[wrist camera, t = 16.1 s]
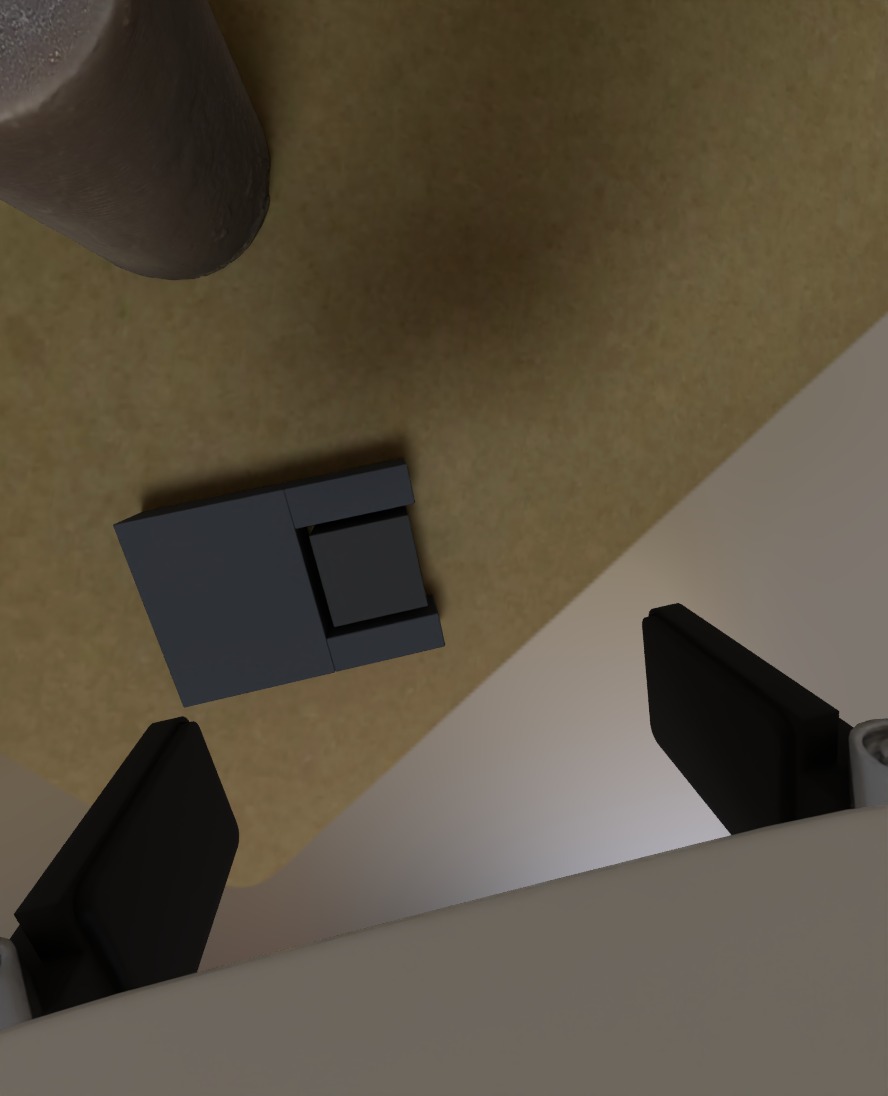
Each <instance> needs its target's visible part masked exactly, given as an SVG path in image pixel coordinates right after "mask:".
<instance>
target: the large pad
mask: <svg viewBox="0 0 888 1096" xmlns="http://www.w3.org/2000/svg"><path fill="white" fill-rule="evenodd" d="M414 503H415V500H414V495H413V491H412V486H411V481H410V477H409V472H408V467H407V464H406V462H405V460H404V458H401V459H396V460H392V461H387V462H382V463H377V464H372V465H367V466H363V467H358V468H353V469H348V470H343V471H339V472H334V473H329V474H324V475H319V476H314V477H310V478H305V479H300V480H295V481H290V482H285V483H280V484H276V485H271V486H266V487H261V488H256V489H251V490H247V491H242V492H237V493H232V494H227V495H223V496H218V497H213V498H208V499H203V500H198V501H194V502H189V503H184V504H179V505H174V506H169V507H165V508H160V509H155V510H150V511H145V512H141V513H139V514H137V515H134V516H132V517H130V518H127V519H125V520H123V521H121V522H118V523H116V524H114V525H113V526H114V529H115V532H116V534H117V537H118V539H119V542H120V544H121V547H122V550H123V552H124V555H125V557H126V560H127V562H128V565H129V568H130V570H131V573H132V575H133V578H134V580H135V583H136V586H137V588H138V591H139V593H140V596H141V598H142V601H143V604H144V606H145V609H146V611H147V614H148V617H149V619H150V622H151V624H152V627H153V629H154V632H155V635H156V637H157V640H158V642H159V645H160V647H161V650H162V653H163V655H164V658H165V660H166V663H167V665H168V668H169V671H170V673H171V676H172V678H173V681H174V684H175V686H176V689H177V691H178V694H179V696H180V699H181V702H182V704H183V707H188V706H193V705H197V704H201V703H206V702H210V701H214V700H218V699H223V698H227V697H231V696H236V695H240V694H244V693H248V692H253V691H257V690H261V689H265V688H270V687H274V686H278V685H283V684H287V683H291V682H295V681H300V680H304V679H308V678H312V677H317V676H321V675H325V674H330V673H334V672H335V671H341V670H345V669H350V668H354V667H358V666H362V665H367V664H371V663H375V662H380V661H384V660H388V659H392V658H397V657H401V656H405V655H410V654H414V653H418V652H422V651H427V650H431V649H435V648H439V647H444V646H445V642H444V638H443V633H442V628H441V623H440V619H439V614H438V611H437V607H436V604H435V600H434V597H433V595H432V594H431V595H426V598H427V603H428V606H425V607H420V608H416V609H411V610H407V611H403V612H398V613H394V614H389V615H385V616H381V617H376V618H372V619H368V620H363V621H359V622H354V623H350V624H346V625H341V626H337V627H334V625H333V621H332V618H331V615H330V612H329V608H328V605H327V601H326V597H325V594H324V590H323V586H322V583H321V579H320V576H319V572H318V568H317V565H316V561H315V558H314V554H313V550H312V547H311V543H310V540H309V536H308V532H307V529H306V526H311V525H316V524H320V523H325V522H330V521H334V520H339V519H344V518H348V517H353V516H358V515H363V514H367V513H372V512H377V511H381V510H386V509H391V508H395V507H400V506H405V505H409V504H414Z"/></svg>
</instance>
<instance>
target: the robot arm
mask: <svg viewBox="0 0 888 1096" xmlns="http://www.w3.org/2000/svg"><path fill="white" fill-rule="evenodd" d="M642 630H643V640H644V641H643V642H644V654H645V665H646V678H647V689H648V702H649V713H650V725H651V729H652V733H653V735H654V738H655V740H656V741H657V743H658V744H659V746H660V747H661V748H662V749H663V751H664V752H665V753H666V754H667V756H668V757H669V758H670V759H671V760H672V762H673V763H674V764H675V766H676V767H677V768H678V769H679V770H680V772H681V773H682V774H683V775H684V777H685V778H686V779H687V780H688V782H689V783H690V784H691V785H692V787H693V788H694V789H695V790H696V792H697V793H698V794H699V795H700V796H701V798H702V799H703V800H704V802H705V803H706V804H707V805H708V807H709V808H710V809H711V810H712V811H713V813H714V814H715V815H716V816H717V818H718V819H719V820H720V821H721V823H722V824H723V825H724V826H725V828H726V829H727V830H728V831H729V833H730V834H731V836H727V837H723V838H719V839H714V840H711V841H706V842H702V843H698V844H694V845H690V846H686V847H682V848H678V849H674V850H671V851H666V852H662V853H658V854H654V855H650V856H646V857H642V858H638V859H634V860H630V861H626V862H622V863H619V864H615V865H610V866H606V867H603V868H598V869H594V870H590V871H586V872H582V873H578V874H574V875H571V876H566V877H563V878H558V879H555V880H550V881H547V882H543V883H539V884H535V885H531V886H527V887H523V888H520V889H515V890H511V891H507V892H503V893H500V894H496V895H492V896H488V897H484V898H480V899H476V900H472V901H468V902H464V903H461V904H457V905H453V906H449V907H445V908H442V909H437V910H433V911H430V912H426V913H422V914H418V915H414V916H410V917H406V918H403V919H399V920H395V921H391V922H387V923H383V924H379V925H375V926H372V927H368V928H364V929H360V930H356V931H353V932H348V933H345V934H341V935H337V936H333V937H330V938H326V939H322V940H318V941H314V942H311V943H307V944H303V945H299V946H296V947H292V948H288V949H284V950H280V951H277V952H273V953H269V954H265V955H261V956H258V957H254V958H250V959H246V960H243V961H239V962H235V963H231V964H227V965H223V966H220V967H216V968H212V969H208V970H205V971H201V972H197V970H198V967H199V964H200V961H201V958H202V955H203V952H204V949H205V945H206V943H207V939H208V937H209V933H210V930H211V927H212V924H213V921H214V918H215V915H216V912H217V909H218V906H219V903H220V900H221V896H222V893H223V891H224V888H225V884H226V881H227V878H228V875H229V872H230V869H231V866H232V863H233V860H234V857H235V854H236V851H237V848H238V843H239V829H238V825H237V822H236V820H235V817H234V815H233V812H232V809H231V807H230V804H229V802H228V799H227V797H226V794H225V791H224V789H223V786H222V784H221V781H220V779H219V776H218V773H217V771H216V768H215V766H214V763H213V761H212V758H211V755H210V753H209V750H208V748H207V745H206V743H205V740H204V737H203V735H202V732H201V730H200V727H199V725H198V724H197V723H196V722H194V721H193V722H189V720H188V719H187V718H186V717H183V716H182V717H178V718H173V719H169V720H165V721H160V722H156V723H152V724H151V725H150V726H149V727H148V729H147V730H146V731H145V733H144V734H143V736H142V737H141V738H140V740H139V741H138V743H137V744H136V745H135V747H134V748H133V750H132V751H131V752H130V754H129V755H128V756H127V758H126V759H125V761H124V762H123V763H122V765H121V766H120V768H119V769H118V770H117V772H116V773H115V775H114V776H113V777H112V779H111V780H110V781H109V783H108V784H107V786H106V787H105V788H104V790H103V791H102V793H101V794H100V795H99V797H98V798H97V800H96V801H95V802H94V804H93V805H92V806H91V808H90V809H89V811H88V812H87V813H86V815H85V816H84V818H83V819H82V820H81V822H80V823H79V824H78V826H77V828H76V829H75V830H74V831H73V833H72V834H71V836H70V837H69V838H68V840H67V841H66V843H65V844H64V845H63V847H62V848H61V850H60V851H59V852H58V854H57V855H56V857H55V858H54V859H53V861H52V862H51V863H50V865H49V866H48V868H47V869H46V870H45V872H44V873H43V875H42V876H41V877H40V879H39V880H38V882H37V883H36V884H35V886H34V887H33V889H32V890H31V891H30V893H29V894H28V895H27V897H26V898H25V899H24V901H23V902H22V904H21V905H20V906H19V908H18V909H17V911H16V912H15V913H14V916H15V917H16V919H17V921H18V922H19V924H20V925H19V927H18V928H17V929H16V931H15V932H14V934H13V935H12V937H11V938H10V939H6V938H2V937H0V1096H888V719H887V718H886V719H874V720H869V721H865V722H862V723H859V724H857V725H856V726H855V727H854V728H853V727H852V726H850V725H849V724H848V723H846V722H845V721H843V720H842V719H840V718H839V711H838V710H837V709H835V708H834V707H832V706H831V705H829V704H828V703H826V702H825V701H823V700H822V699H820V698H819V697H817V696H816V695H814V694H813V693H812V692H810V691H808V690H807V689H805V688H804V687H803V686H801V685H800V684H798V683H797V682H795V681H794V680H792V679H791V678H789V677H788V676H786V675H785V674H783V673H782V672H780V671H779V670H777V669H776V668H775V667H773V666H772V665H770V664H769V663H767V662H766V661H764V660H763V659H761V658H760V657H758V656H757V655H755V654H754V653H752V652H751V651H749V650H748V649H747V648H745V647H744V646H742V645H741V644H739V643H738V642H736V641H735V640H733V639H732V638H730V637H729V636H727V635H726V634H724V633H723V632H722V631H720V630H718V629H717V628H716V627H714V626H713V625H711V624H710V623H708V622H707V621H705V620H704V619H702V618H701V617H699V616H698V615H696V614H695V613H693V612H692V611H690V610H689V609H687V608H686V607H685V606H683V605H682V604H679V603H676V604H671V605H667V606H662V607H658V608H654V609H651V610H650V612H649V617H646V618H644V619H643V621H642Z"/></svg>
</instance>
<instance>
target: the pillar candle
mask: <svg viewBox="0 0 888 1096" xmlns="http://www.w3.org/2000/svg"><path fill="white" fill-rule="evenodd" d="M269 170H270V158H269V153H268V150H267V145H266V141H265V137H264V134H263V130H262V127H261V124H260V122H259V119H258V117H257V114H256V112H255V110H254V108H253V106H252V103H251V101H250V98H249V96H248V93H247V91H246V89H245V87H244V84H243V82H242V79H241V77H240V75H239V72H238V70H237V68H236V65H235V63H234V61H233V59H232V57H231V54H230V52H229V49H228V47H227V45H226V43H225V40H224V37H223V35H222V33H221V31H220V29H219V27H218V24H217V22H216V20H215V17H214V15H213V13H212V10H211V8H210V6H209V4H208V1H207V0H0V199H1V200H2V201H4V202H6V203H8V204H10V205H11V206H13V207H15V208H17V209H18V210H20V211H22V212H24V213H25V214H27V215H29V216H30V217H32V218H34V219H36V220H38V221H39V222H41V223H42V224H44V225H46V226H48V227H50V228H52V229H54V230H56V231H58V232H59V233H61V234H63V235H64V236H66V237H68V238H70V239H72V240H74V241H75V242H77V243H79V244H81V245H82V246H83V247H85V248H87V249H89V250H90V251H92V252H94V253H96V254H97V255H99V256H101V257H103V258H104V259H106V260H108V261H110V262H111V263H113V264H114V265H116V266H118V267H120V268H122V269H125V270H128V271H131V272H133V273H136V274H139V275H142V276H146V277H152V278H153V277H154V278H161V279H168V280H179V279H195V278H199V277H200V276H207V275H209V274H211V273H214V272H216V271H218V270H220V269H222V268H224V267H226V265H228V262H232V261H233V260H235V259H237V258H238V257H239V256H240V255H241V254H242V253H243V251H244V250H245V249H246V248H247V247H248V246H249V245H250V243H251V241H252V240H253V238H254V236H255V235H256V233H257V231H258V230H259V228H260V226H261V224H262V222H263V220H264V217H265V214H266V210H267V209H268V204H269V195H268V185H269V181H268V172H269Z"/></svg>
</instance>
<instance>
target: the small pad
mask: <svg viewBox="0 0 888 1096" xmlns="http://www.w3.org/2000/svg"><path fill="white" fill-rule="evenodd" d="M309 538H310V542H311V545H312V549H313V553H314V556H315V560H316V563H317V567H318V571H319V574H320V578H321V582H322V585H323V589H324V592H325V596H326V600H327V603H328V607H329V610H330V614H331V618H332V621H333V625H334V627H337V626H341V625H346V624H350V623H354V622H359V621H363V620H368V619H372V618H376V617H381V616H385V615H389V614H394V613H398V612H403V611H407V610H411V609H416V608H420V607H425V606H428V603H427V598H426V593H425V589H424V584H423V580H422V575H421V570H420V566H419V561H418V556H417V552H416V547H415V543H414V538H413V533H412V529H411V524H410V520H409V515H408V512H407V508H406V505H405V506H400V507H395V508H391V509H386V510H381V511H377V512H372V513H367V514H363V515H358V516H353V517H348V518H344V519H339V520H334V521H330V522H325V523H320V524H316V525H315V526H314V528H313V530H312V532H311V534H310V536H309Z"/></svg>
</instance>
